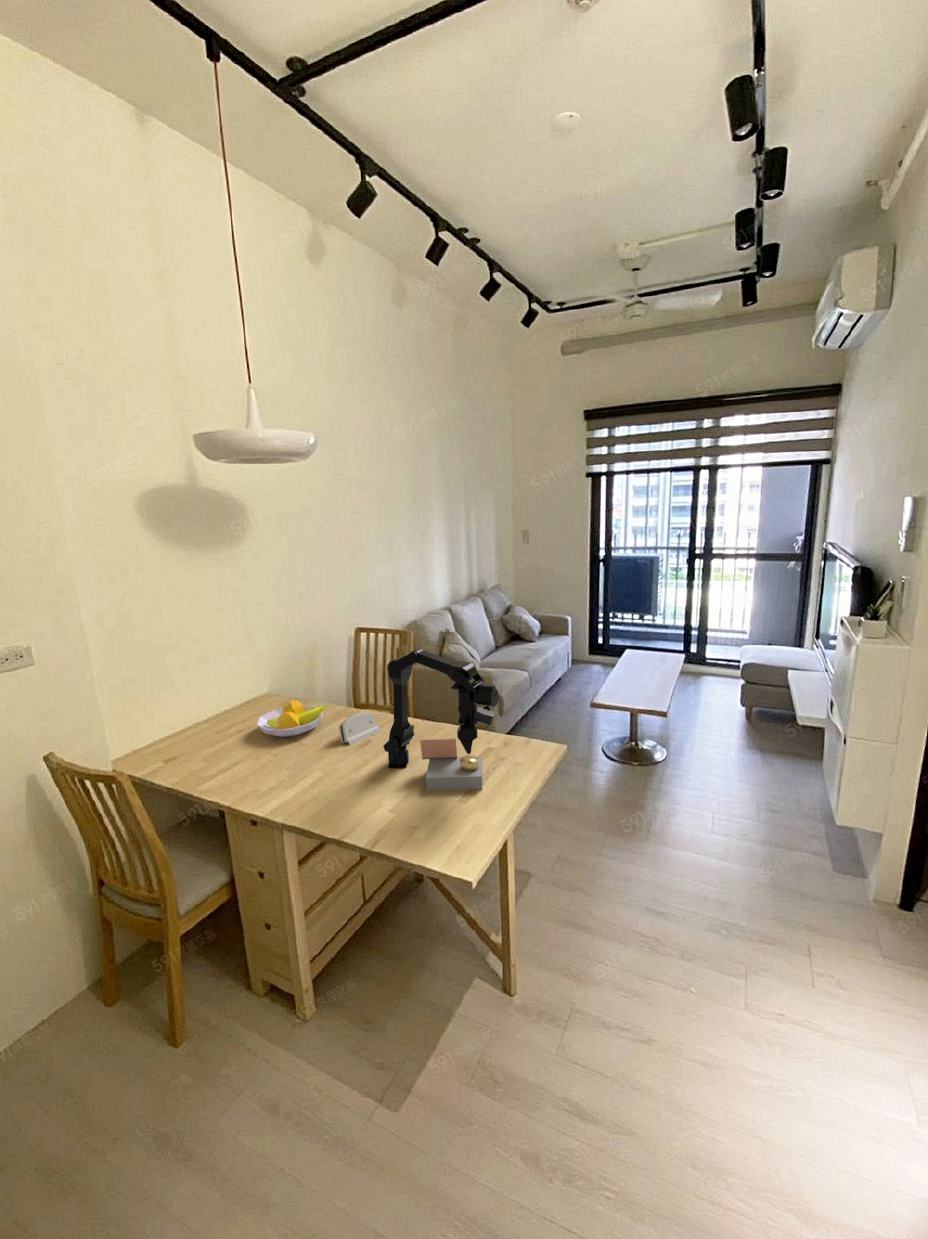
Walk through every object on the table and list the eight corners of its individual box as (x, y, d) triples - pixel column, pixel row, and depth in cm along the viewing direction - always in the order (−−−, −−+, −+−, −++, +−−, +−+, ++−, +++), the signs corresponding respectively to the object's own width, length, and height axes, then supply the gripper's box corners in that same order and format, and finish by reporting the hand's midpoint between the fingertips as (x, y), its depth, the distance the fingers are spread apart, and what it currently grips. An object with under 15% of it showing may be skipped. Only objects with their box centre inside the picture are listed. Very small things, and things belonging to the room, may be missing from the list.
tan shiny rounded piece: (460, 784, 180) (459, 763, 179) (461, 775, 186) (460, 755, 184) (479, 783, 180) (478, 763, 178) (479, 774, 186) (478, 755, 184)
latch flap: (422, 760, 189) (420, 740, 185) (422, 757, 190) (420, 738, 186) (457, 759, 189) (455, 739, 185) (457, 756, 190) (455, 737, 186)
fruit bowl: (244, 739, 224) (241, 713, 222) (289, 714, 249) (286, 691, 246) (299, 748, 213) (296, 720, 211) (341, 721, 238) (338, 696, 235)
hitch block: (426, 790, 178) (425, 777, 177) (430, 769, 191) (429, 757, 190) (482, 789, 177) (481, 776, 176) (482, 768, 191) (481, 756, 190)
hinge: (349, 745, 213) (341, 721, 214) (342, 746, 217) (335, 722, 217) (382, 731, 226) (374, 707, 226) (375, 732, 229) (367, 709, 229)
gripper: (492, 712, 168) (494, 759, 171) (491, 691, 186) (493, 734, 189) (456, 713, 168) (458, 760, 171) (458, 692, 186) (460, 735, 190)
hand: (469, 747), depth 180 cm, fingers open, 9 cm apart
